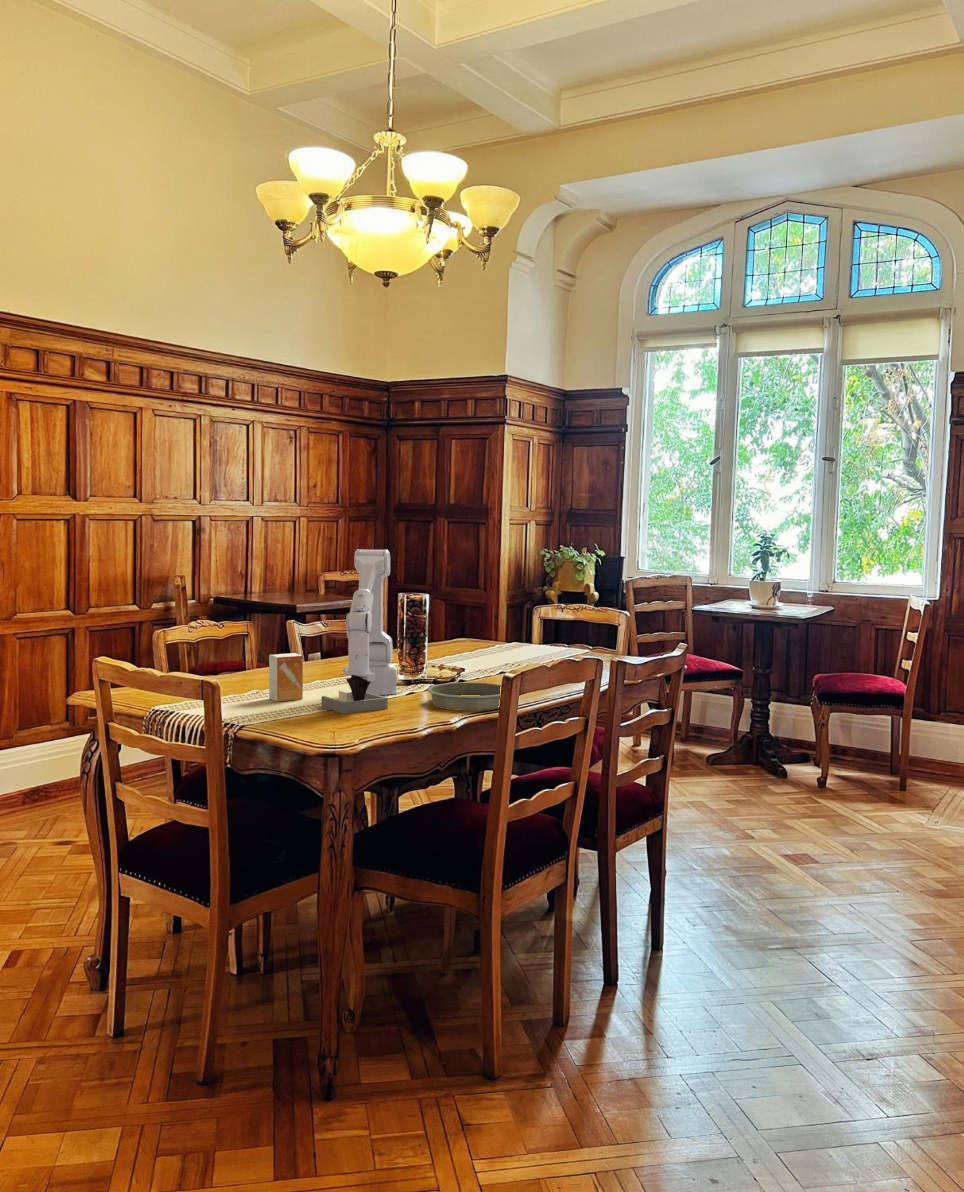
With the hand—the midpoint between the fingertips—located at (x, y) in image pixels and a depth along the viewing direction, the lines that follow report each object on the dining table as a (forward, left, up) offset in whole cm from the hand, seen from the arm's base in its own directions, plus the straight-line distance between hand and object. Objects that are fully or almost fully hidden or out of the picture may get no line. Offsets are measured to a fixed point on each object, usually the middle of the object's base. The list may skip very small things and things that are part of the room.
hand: (358, 703), depth 279 cm
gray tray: (0, -2, -2) cm, 3 cm away
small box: (+10, -25, -2) cm, 27 cm away
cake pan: (-31, +10, -2) cm, 33 cm away
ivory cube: (0, -5, -2) cm, 6 cm away
